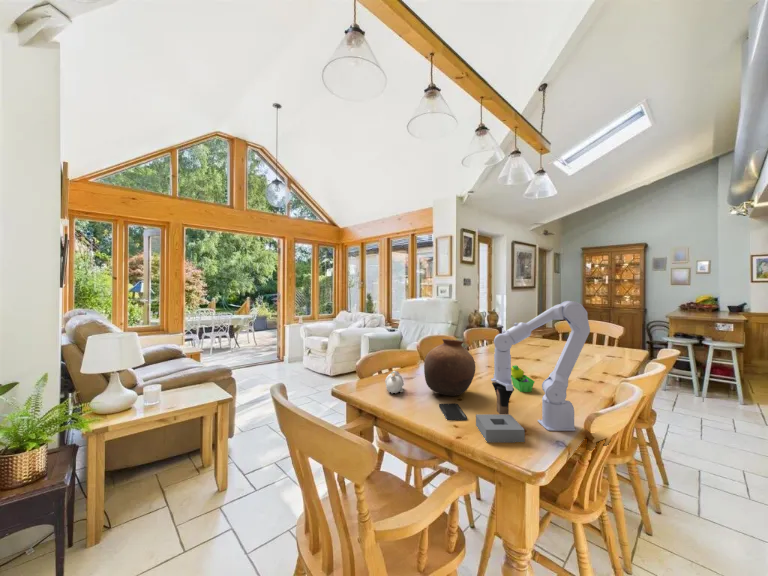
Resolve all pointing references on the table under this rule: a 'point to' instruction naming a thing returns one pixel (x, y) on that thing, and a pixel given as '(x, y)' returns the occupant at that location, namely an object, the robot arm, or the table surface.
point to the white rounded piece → (394, 382)
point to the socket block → (500, 428)
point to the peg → (499, 408)
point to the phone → (452, 411)
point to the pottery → (449, 368)
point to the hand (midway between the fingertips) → (502, 404)
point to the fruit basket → (521, 380)
